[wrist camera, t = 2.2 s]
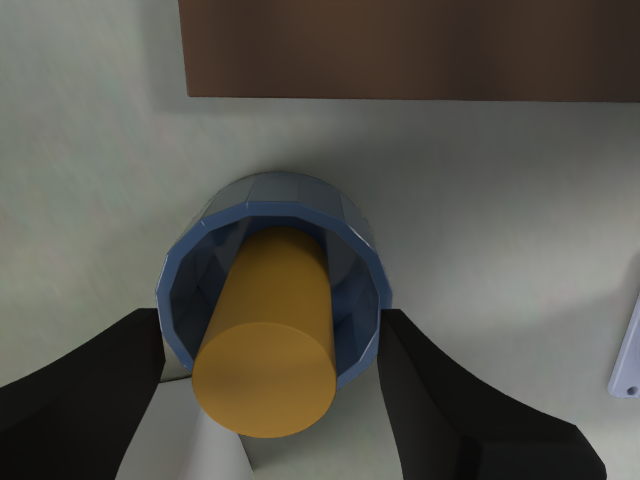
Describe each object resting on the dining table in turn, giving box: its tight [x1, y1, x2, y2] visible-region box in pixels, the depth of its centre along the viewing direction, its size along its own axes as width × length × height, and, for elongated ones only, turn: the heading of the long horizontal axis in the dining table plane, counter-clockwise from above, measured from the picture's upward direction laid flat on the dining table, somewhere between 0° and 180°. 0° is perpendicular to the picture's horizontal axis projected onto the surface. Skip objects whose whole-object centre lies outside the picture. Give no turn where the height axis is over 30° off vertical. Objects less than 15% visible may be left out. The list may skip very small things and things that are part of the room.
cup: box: [155, 172, 393, 391], centre depth 17 cm, size 8×8×4 cm
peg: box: [191, 226, 337, 438], centre depth 15 cm, size 4×4×7 cm
